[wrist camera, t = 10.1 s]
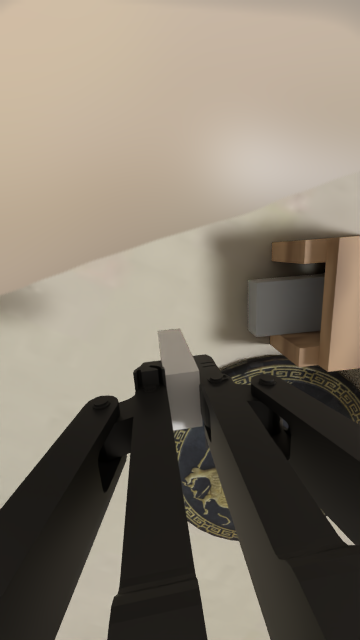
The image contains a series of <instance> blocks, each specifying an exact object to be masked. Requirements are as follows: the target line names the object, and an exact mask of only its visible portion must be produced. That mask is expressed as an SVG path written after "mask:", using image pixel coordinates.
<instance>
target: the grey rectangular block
mask: <svg viewBox="0 0 360 640" xmlns="http://www.w3.org/2000/svg"><path fill="white" fill-rule="evenodd" d="M324 280H325V274H313V275H301V276H289V277H277V278H265V279H253V280H248V331H250V332H251V333H252V334H253V335H254V336H255V337H263V336H273V335H282V334H292V333H302V332H312V331H321V319H322V306H323V293H324Z"/></svg>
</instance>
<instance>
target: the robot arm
mask: <svg viewBox="0 0 360 640" xmlns="http://www.w3.org/2000/svg"><path fill="white" fill-rule="evenodd" d="M158 338H159V348H160V357H161V361H153V362H145V363H143V364H142V365H141V366H140V367H138V368H137V369H136V370H134V372H133V375H134V383H135V390H136V392H135V395H134V396H133V397H132V398H130V399H128V400H125V401H123V402H120V403H119V402H118V399H117V398H116V397H114V396H99V397H96V398H94V399H92V400H91V401H89V402H88V403H87V404H86V405H85V406H84V407H83V408H82V409H81V411H80V412H79V413H78V414H77V416H76V417H75V418H74V419H73V421H72V422H71V423H70V424H69V425H68V427H67V428H66V429H65V430H64V432H63V433H62V434H61V435H60V437H59V438H58V439H57V440H56V441H55V443H54V444H53V445H52V446H51V448H50V449H49V450H48V451H47V453H46V454H45V455H44V456H43V458H42V459H41V460H40V461H39V462H38V464H37V465H36V466H35V467H34V469H33V470H32V471H31V472H30V474H29V475H28V476H27V477H26V478H25V480H24V481H23V482H22V483H21V485H20V486H19V487H18V488H17V490H16V491H15V492H14V493H13V495H12V496H11V497H10V498H9V499H8V501H7V502H6V503H5V504H4V506H3V507H2V508H1V509H0V640H55V638H56V635H57V632H58V630H59V627H60V625H61V622H62V620H63V617H64V615H65V612H66V610H67V607H68V605H69V602H70V600H71V597H72V595H73V592H74V590H75V587H76V585H77V582H78V580H79V577H80V575H81V572H82V570H83V567H84V565H85V562H86V560H87V557H88V555H89V552H90V550H91V547H92V545H93V542H94V540H95V537H96V535H97V532H98V530H99V527H100V525H101V522H102V520H103V517H104V515H105V512H106V510H107V507H108V505H109V502H110V500H111V497H112V495H113V492H114V490H115V487H116V485H117V482H118V480H119V477H120V475H121V472H122V470H123V467H124V465H125V462H126V458H127V454H128V453H130V465H129V478H128V490H127V502H126V515H125V527H124V539H123V552H122V564H121V576H120V586H119V591H118V594H117V595H116V596H115V597H114V599H113V603H112V607H111V613H110V621H109V629H108V639H107V640H207V634H206V628H205V621H204V615H203V609H202V602H201V597H200V591H199V585H198V580H197V578H196V574H195V568H194V562H193V556H192V549H191V543H190V536H189V530H188V523H187V517H186V510H185V503H184V497H183V490H182V484H181V477H180V471H179V464H178V458H177V451H176V445H175V438H174V432H173V431H174V430H180V429H187V428H194V427H201V426H203V424H202V418H203V421H204V428H205V445H206V448H208V445H209V448H210V451H211V454H212V458H213V461H214V464H215V467H216V470H217V473H218V476H219V479H220V483H221V486H222V489H223V492H224V495H225V498H226V501H227V504H228V508H229V511H230V514H231V517H232V520H233V523H234V526H235V529H236V533H237V536H238V539H239V542H240V545H241V548H242V551H243V555H244V558H245V561H246V564H247V567H248V570H249V573H250V576H251V580H252V583H253V586H254V589H255V592H256V595H257V598H258V601H259V605H260V608H261V611H262V614H263V617H264V620H265V623H266V626H267V630H268V633H269V636H270V639H271V640H360V425H359V424H357V423H356V422H354V421H352V420H351V419H349V418H347V417H345V416H344V415H342V414H340V413H339V412H337V411H335V410H334V409H332V408H330V407H328V406H327V405H325V404H323V403H322V402H320V401H318V400H317V399H315V398H313V397H311V396H310V395H308V394H306V393H305V392H303V391H301V390H300V389H298V388H296V387H294V386H293V385H291V384H289V383H288V382H286V381H284V380H283V379H281V378H279V377H277V376H274V375H270V374H260V375H256V376H253V377H252V378H251V385H247V384H236V383H234V381H233V380H232V378H231V377H230V376H228V375H226V374H223V373H221V371H220V370H219V368H218V367H217V366H216V364H215V362H214V360H213V359H212V357H210V356H208V355H206V354H205V355H197V356H192V354H191V352H190V349H189V347H188V345H187V343H186V340H185V338H184V336H183V334H182V332H181V329H170V330H161V331H158ZM283 419H284V420H285V421H286V422H287V424H288V425H289V426H288V428H286V427H285V426H284V425H283ZM321 510H322V511H323V512H324V513H325V514H326V515H327V516H328V517H329V518H330V519H331V520H332V521H333V522H334V523H335V524H336V525H337V526H338V527H339V528H340V530H341V531H342V532H343V533H344V534H345V535H346V536H347V537H348V538H349V539H350V540H351V541H352V542H353V543H354V544H355V545H347V544H346V543H345V542H343V541H342V539H341V538H340V537H339V536H338V534H337V533H336V531H335V530H334V528H333V527H332V525H331V524H330V522H329V521H328V520H327V518H326V517H325V515H324V514H323V512H322V511H321Z"/></svg>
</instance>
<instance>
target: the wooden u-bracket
mask: <svg viewBox="0 0 360 640" xmlns="http://www.w3.org/2000/svg"><path fill="white" fill-rule="evenodd" d="M272 261H277V262H288V263H300V264H309V263H321V262H326V267H325V280H324V293H323V306H322V319H321V331H312V332H302V333H292V334H282V335H273V336H270V345H272V346H273V347H274V348H275V349H277V350H278V351H279V352H280V353H282V354H283V355H284V356H285V357H287V358H288V359H289V360H290V361H291V362H293V363H294V364H295V365H296V366H298V367H305V366H314V365H319V366H320V367H322V368H323V369H324V370H326V371H327V372H331V371H340V370H348V369H356V368H360V236H350V237H337V238H324V239H311V240H299V241H286V242H273V243H272Z"/></svg>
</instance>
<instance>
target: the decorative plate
mask: <svg viewBox="0 0 360 640" xmlns="http://www.w3.org/2000/svg"><path fill="white" fill-rule="evenodd" d="M221 373H223V374H226V375H228V376H230V377H231V378H232V380H233V381H234V383H236V384H247V385H251V378H252V377H253V376H256V375H260V374H270V375H274V376H277V377H279V378H281V379H283V380H284V381H286V382H288V383H289V384H291V385H293V386H294V387H296V388H298V389H300V390H301V391H303V392H305V393H306V394H308V395H310V396H311V397H313V398H315V399H317V400H318V401H320V402H322V403H323V404H325V405H327V406H328V407H330V408H332V409H334V410H335V411H337V412H339V413H340V414H342V415H344V416H345V417H347V418H349V419H351V420H352V421H354V422H356V423H357V424H359V425H360V391H359V390H358V389H357V387H356V386H355V385H354V384H353V382H352V381H351V380H349V379H348V378H347V377H345V376H344V375H343V374H341V373H340V372H339V371H331V372H327V371H326V370H324V369H323V368H322V367H320V366H319V365H314V366H305V367H298V366H296V365H295V364H294V363H293V362H291V361H290V360H289V359H288V358H287V357H285V356H284V355H272V356H266V357H261V358H255V359H250V360H247V361H244V362H241V363H239V364H236V365H233V366H230V367H228V368H226V369H224V370H222V371H221ZM202 424H203V426H201V427H194V428H187V429H180V430H174V431H173V432H174V438H175V445H176V451H177V458H178V464H179V471H180V477H181V484H182V490H183V497H184V503H185V510H186V517H187V521H189V522H190V523H191V524H193V525H194V526H195V527H197V528H198V529H200V530H202V531H204V532H207V533H209V534H211V535H213V536H216V537H220V538H224V539H228V540H235V541H239V539H238V536H237V533H236V529H235V526H234V523H233V520H232V517H231V514H230V511H229V508H228V504H227V501H226V498H225V495H224V492H223V489H222V486H221V483H220V479H219V476H218V473H217V470H216V467H215V464H214V461H213V458H212V454H211V451H210V448H209V445H208V448H206V445H205V428H204V421H203V418H202ZM283 425H284V426H285V427H286V428H288V426H289V425H288V424H287V422H286V421H285V420H284V419H283ZM321 511H322V510H321ZM322 512H323V511H322ZM323 514H324V515H325V517H326V516H327V515H326V514H325V513H324V512H323Z"/></svg>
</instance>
